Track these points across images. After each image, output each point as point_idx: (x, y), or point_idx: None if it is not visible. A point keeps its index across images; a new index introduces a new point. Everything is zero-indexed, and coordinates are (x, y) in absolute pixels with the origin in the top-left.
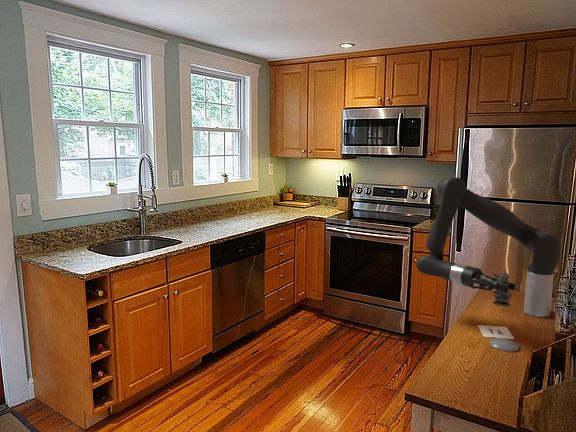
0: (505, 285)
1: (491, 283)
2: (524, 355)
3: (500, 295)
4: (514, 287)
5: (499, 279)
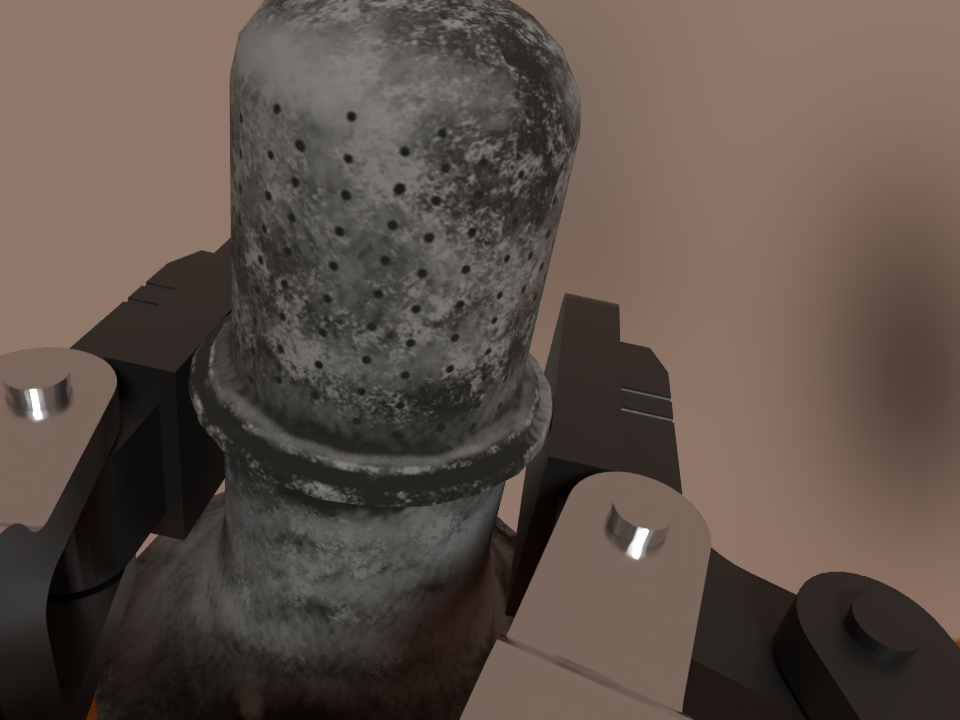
0: (564, 324)
1: (833, 598)
2: None
3: None
4: None
5: (500, 328)
